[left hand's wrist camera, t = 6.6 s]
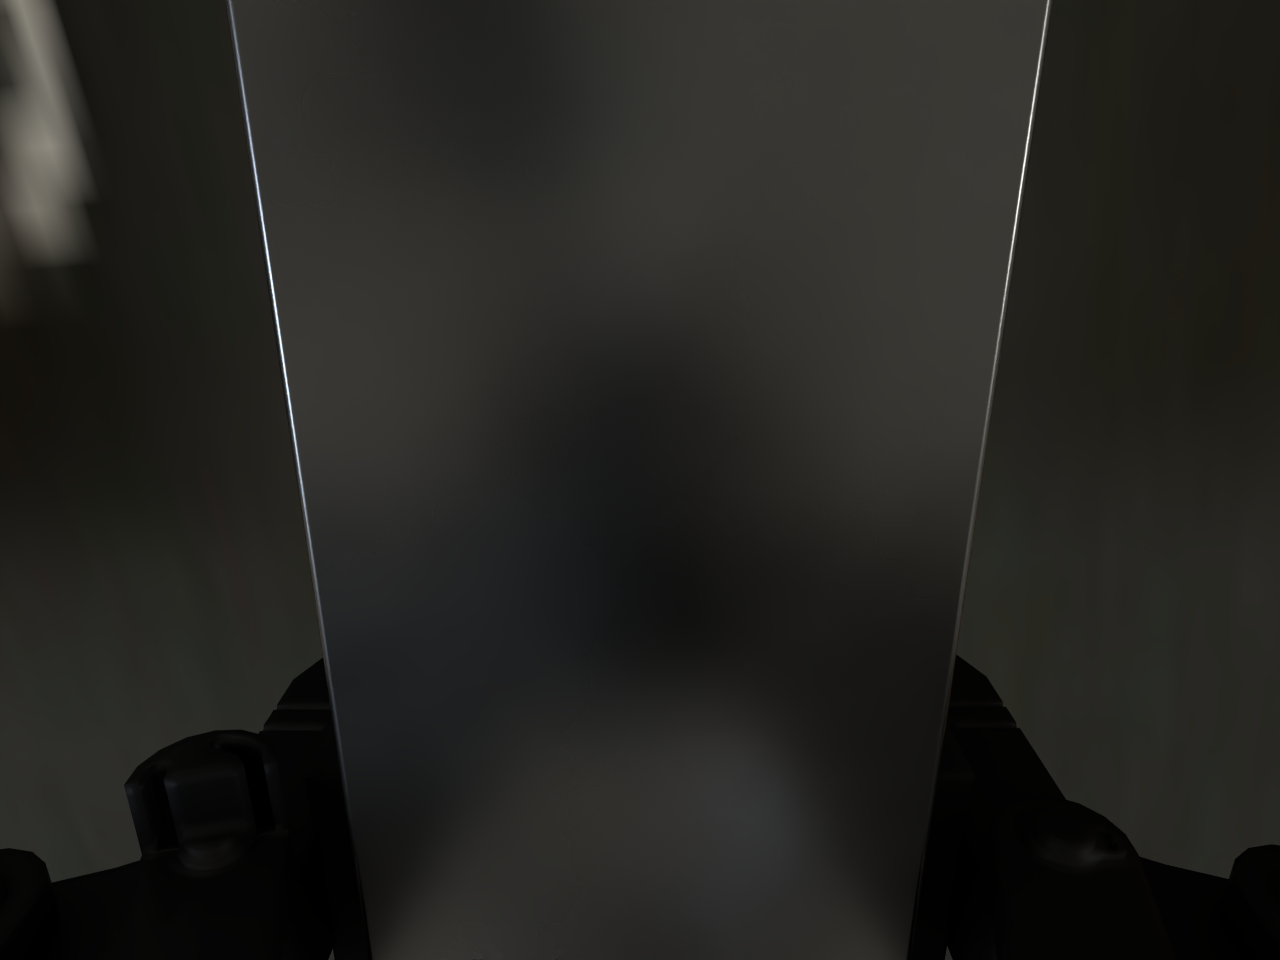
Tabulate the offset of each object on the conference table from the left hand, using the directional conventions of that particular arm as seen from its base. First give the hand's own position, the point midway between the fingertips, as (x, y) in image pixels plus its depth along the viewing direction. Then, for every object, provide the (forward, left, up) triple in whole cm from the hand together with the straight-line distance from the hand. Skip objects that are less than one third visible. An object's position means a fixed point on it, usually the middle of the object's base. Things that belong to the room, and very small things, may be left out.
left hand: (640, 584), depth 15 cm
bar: (+12, +7, -1) cm, 13 cm away
